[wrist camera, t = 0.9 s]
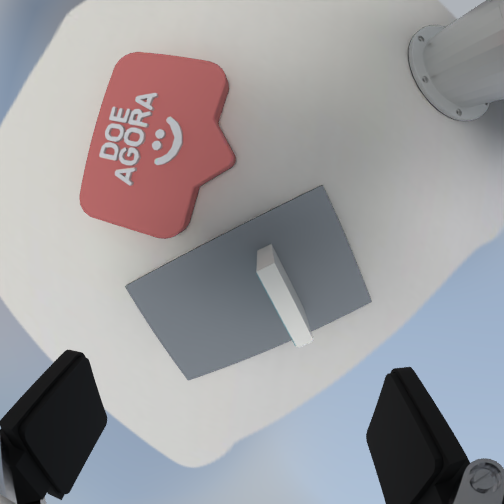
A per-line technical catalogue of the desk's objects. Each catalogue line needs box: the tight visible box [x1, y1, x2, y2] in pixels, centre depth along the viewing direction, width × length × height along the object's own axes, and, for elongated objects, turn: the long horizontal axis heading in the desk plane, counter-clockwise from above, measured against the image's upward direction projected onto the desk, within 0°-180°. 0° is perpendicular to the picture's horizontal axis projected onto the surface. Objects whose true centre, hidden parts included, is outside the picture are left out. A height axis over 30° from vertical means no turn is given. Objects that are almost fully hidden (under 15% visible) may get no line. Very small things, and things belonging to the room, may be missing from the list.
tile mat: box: [125, 185, 372, 380], centre depth 33 cm, size 24×14×1 cm, turn 117°
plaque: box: [80, 52, 236, 239], centre depth 28 cm, size 18×4×15 cm
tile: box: [256, 244, 314, 348], centre depth 29 cm, size 2×8×7 cm, turn 28°
